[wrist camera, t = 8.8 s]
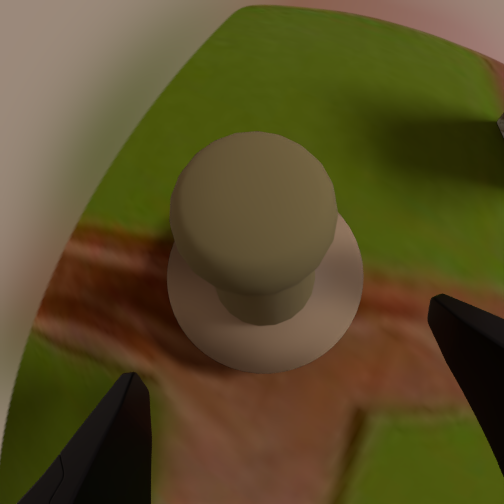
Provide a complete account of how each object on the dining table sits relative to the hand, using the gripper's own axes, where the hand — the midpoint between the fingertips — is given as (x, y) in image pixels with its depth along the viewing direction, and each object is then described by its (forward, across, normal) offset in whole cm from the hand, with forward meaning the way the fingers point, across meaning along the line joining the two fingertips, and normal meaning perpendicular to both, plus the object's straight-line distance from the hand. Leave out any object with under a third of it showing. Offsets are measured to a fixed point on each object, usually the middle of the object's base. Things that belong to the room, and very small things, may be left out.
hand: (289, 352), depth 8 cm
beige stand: (+12, 0, +6) cm, 13 cm away
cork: (+10, 0, +4) cm, 11 cm away
